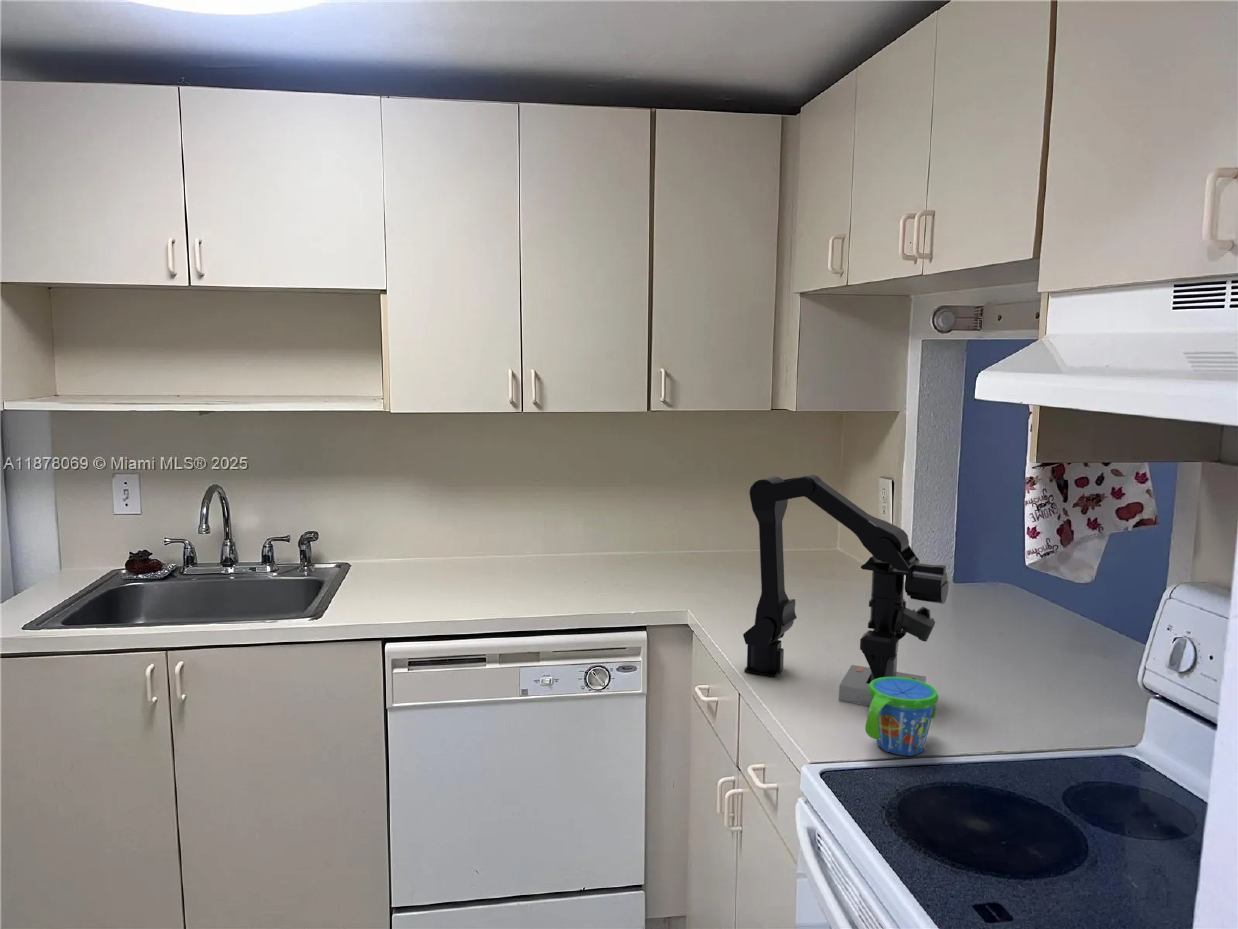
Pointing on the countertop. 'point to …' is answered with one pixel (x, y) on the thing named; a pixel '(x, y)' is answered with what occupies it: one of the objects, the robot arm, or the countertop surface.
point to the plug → (889, 668)
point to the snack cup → (900, 714)
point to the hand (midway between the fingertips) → (883, 675)
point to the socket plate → (863, 684)
